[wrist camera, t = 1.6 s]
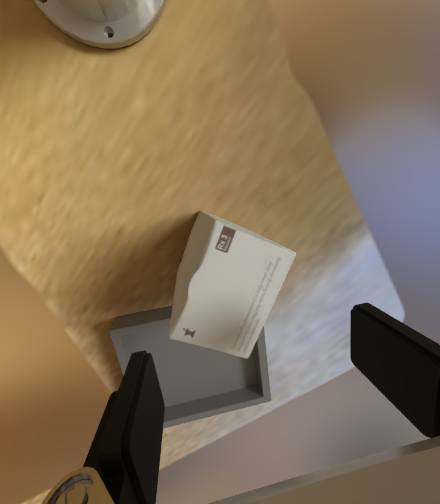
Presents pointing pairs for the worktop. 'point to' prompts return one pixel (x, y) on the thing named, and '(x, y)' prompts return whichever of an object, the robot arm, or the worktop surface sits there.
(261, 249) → the skincare box
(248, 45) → the worktop surface
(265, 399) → the tray
